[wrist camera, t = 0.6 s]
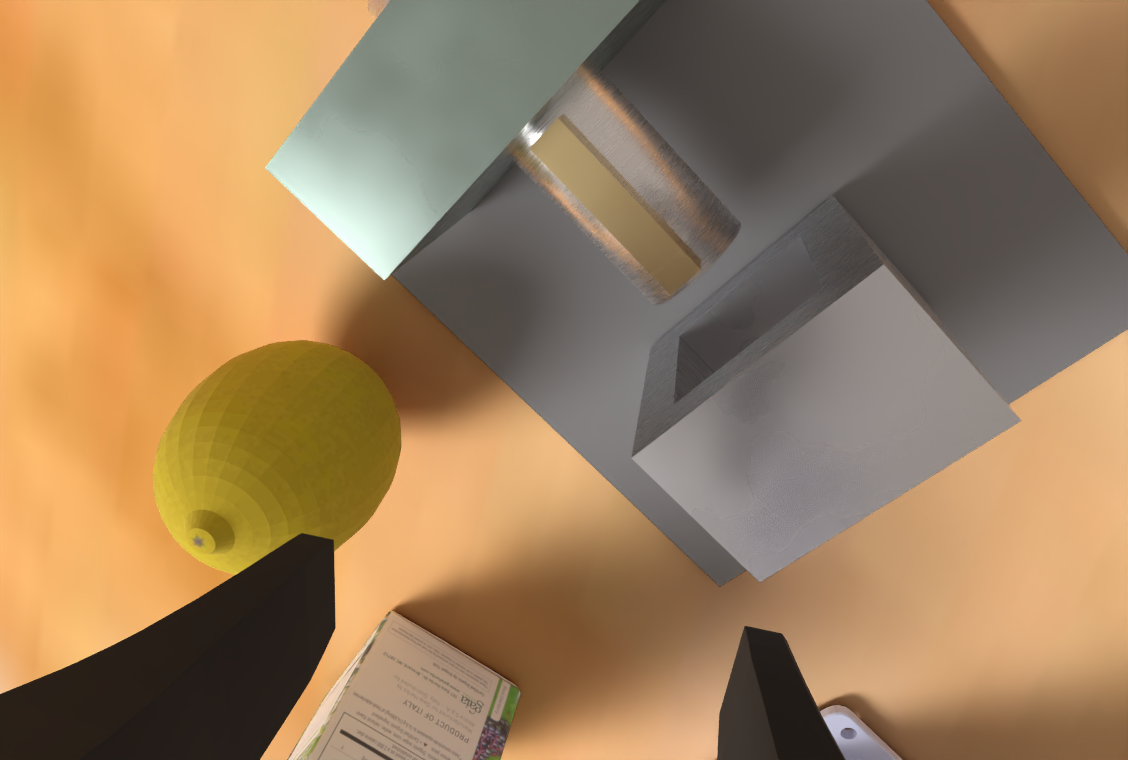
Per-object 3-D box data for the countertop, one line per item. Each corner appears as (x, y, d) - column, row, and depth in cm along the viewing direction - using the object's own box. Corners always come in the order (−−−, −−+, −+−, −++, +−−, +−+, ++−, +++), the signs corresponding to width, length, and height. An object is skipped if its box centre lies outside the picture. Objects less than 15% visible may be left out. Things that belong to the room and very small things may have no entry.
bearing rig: (823, 115, 18) (877, 156, 13) (589, 325, 22) (546, 434, 16) (574, -176, 17) (506, -279, 11) (361, 98, 20) (223, 128, 14)
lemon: (345, 266, 22) (172, 381, 15) (473, 405, 23) (370, 574, 16) (233, 369, 24) (36, 514, 17) (356, 492, 25) (219, 674, 18)
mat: (1160, 300, 19) (1166, 303, 19) (719, 580, 24) (719, 587, 24) (661, -330, 15) (660, -336, 15) (284, 166, 21) (279, 167, 21)
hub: (934, 310, 19) (1021, 421, 14) (746, 444, 22) (759, 582, 16) (832, 194, 19) (883, 263, 13) (650, 347, 21) (631, 458, 16)
